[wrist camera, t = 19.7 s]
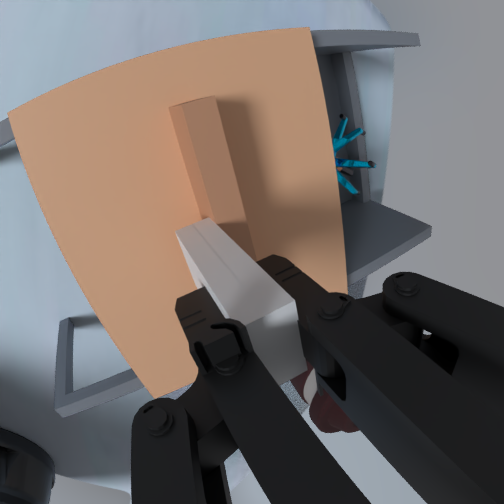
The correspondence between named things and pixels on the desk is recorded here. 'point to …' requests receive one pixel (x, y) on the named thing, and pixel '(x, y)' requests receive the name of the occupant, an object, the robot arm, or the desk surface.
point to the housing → (352, 206)
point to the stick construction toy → (345, 164)
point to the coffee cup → (321, 404)
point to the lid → (184, 179)
